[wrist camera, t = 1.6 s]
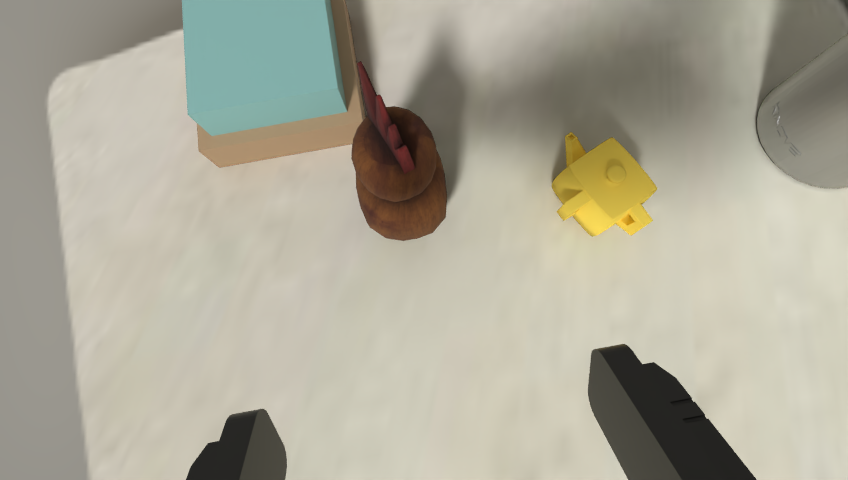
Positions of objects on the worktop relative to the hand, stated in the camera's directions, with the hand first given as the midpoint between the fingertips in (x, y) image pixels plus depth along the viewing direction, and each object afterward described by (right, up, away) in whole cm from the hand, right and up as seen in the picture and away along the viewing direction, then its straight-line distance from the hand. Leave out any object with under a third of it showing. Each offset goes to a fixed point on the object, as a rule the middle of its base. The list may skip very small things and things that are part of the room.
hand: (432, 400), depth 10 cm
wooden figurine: (-1, +6, +22) cm, 23 cm away
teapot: (+12, +7, +22) cm, 26 cm away
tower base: (-11, +16, +25) cm, 32 cm away
